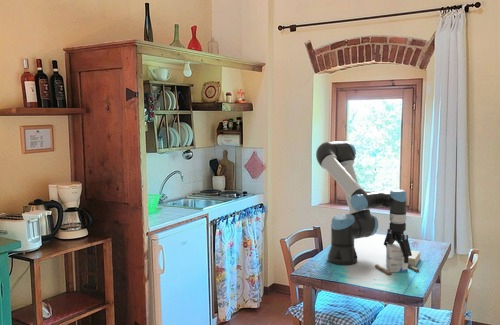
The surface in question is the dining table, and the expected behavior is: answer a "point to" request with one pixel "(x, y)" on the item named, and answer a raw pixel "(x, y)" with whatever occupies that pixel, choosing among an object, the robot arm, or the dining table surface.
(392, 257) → the ink box
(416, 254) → the block
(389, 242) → the robot arm
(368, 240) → the dining table surface
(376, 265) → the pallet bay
